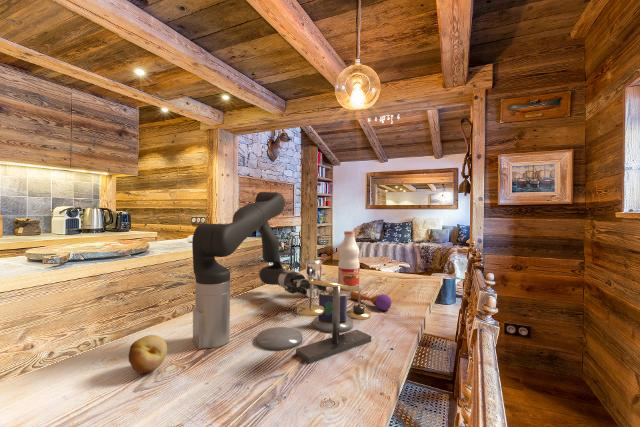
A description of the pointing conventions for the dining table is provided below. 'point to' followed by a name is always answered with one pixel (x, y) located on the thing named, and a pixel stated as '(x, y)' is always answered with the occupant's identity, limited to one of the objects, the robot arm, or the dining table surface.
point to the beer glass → (313, 275)
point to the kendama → (375, 300)
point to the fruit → (147, 353)
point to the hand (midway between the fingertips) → (316, 290)
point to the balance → (333, 326)
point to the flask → (327, 303)
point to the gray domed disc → (279, 338)
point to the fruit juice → (348, 263)
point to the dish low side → (328, 326)
